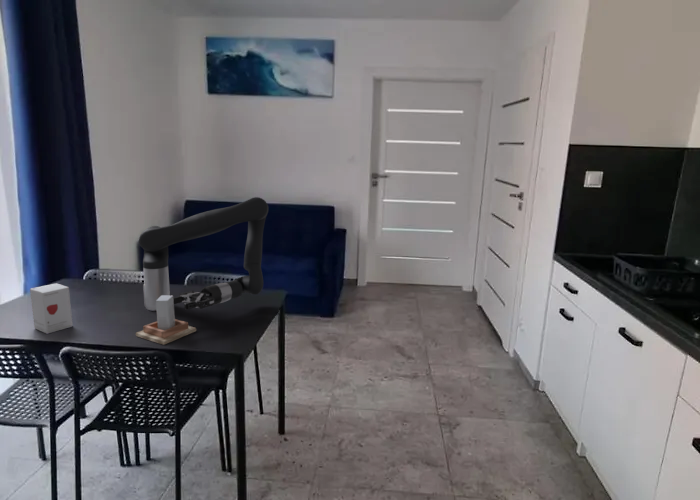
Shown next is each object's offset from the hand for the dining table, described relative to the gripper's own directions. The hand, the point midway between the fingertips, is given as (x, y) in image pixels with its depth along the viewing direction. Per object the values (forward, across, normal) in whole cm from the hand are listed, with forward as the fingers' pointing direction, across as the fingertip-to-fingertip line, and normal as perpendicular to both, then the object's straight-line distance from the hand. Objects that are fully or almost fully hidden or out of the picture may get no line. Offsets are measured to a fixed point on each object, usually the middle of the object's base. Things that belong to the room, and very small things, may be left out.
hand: (178, 304), depth 161 cm
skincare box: (+5, 0, +8) cm, 10 cm away
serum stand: (+5, 0, +10) cm, 11 cm away
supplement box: (+29, -34, +10) cm, 46 cm away
